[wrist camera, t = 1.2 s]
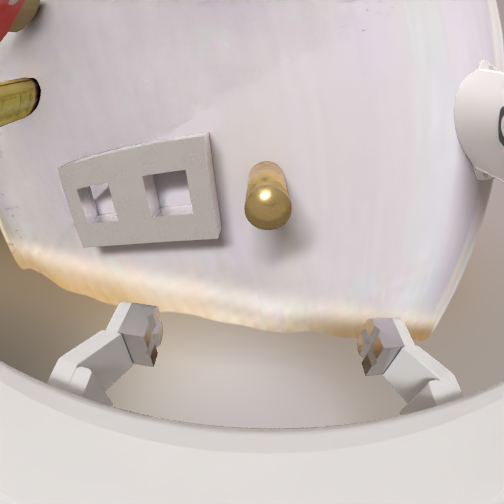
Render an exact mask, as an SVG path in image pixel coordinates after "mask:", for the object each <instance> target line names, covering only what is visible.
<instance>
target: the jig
mask: <svg viewBox="0 0 504 504" xmlns="http://www.w3.org/2000/svg"><path fill="white" fill-rule="evenodd" d="M181 170H186V175H187V181H188V187H189V193H190V198H191V204H188V205H177V206H167V207H160V205H159V201H158V196H157V192H156V187H155V182H154V177H153V174H159V173H166V172H173V171H181ZM58 171H59V175H60V178H61V182H62V186H63V189H64V193H65V196H66V199H67V202H68V206H69V209H70V212H71V215H72V218H73V221H74V223H75V226H76V229H77V232H78V234H79V237H80V240H81V242H82V245H83V247H84V248H86V247H99V246H112V245H126V244H140V243H155V242H171V241H187V240H203V239H218V238H219V234H220V230H221V227H222V226H221V220H220V213H219V206H218V199H217V191H216V184H215V177H214V169H213V162H212V154H211V146H210V138H209V132H206V133H198V134H191V135H184V136H178V137H172V138H166V139H160V140H155V141H150V142H145V143H140V144H135V145H131V146H126V147H122V148H118V149H114V150H110V151H106V152H102V153H98V154H95V155H91V156H87V157H84V158H81V159H77V160H74V161H71V162H69V163H67V164H65V165H63V166H61V167H59V168H58ZM107 182H108V185H109V189H110V193H111V196H112V200H113V204H114V207H115V211H116V213H109V214H102V215H98V212H97V209H96V205H95V202H94V199H93V195H92V192H91V188H90V186H93V185H97V184H102V183H107Z"/></svg>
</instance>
